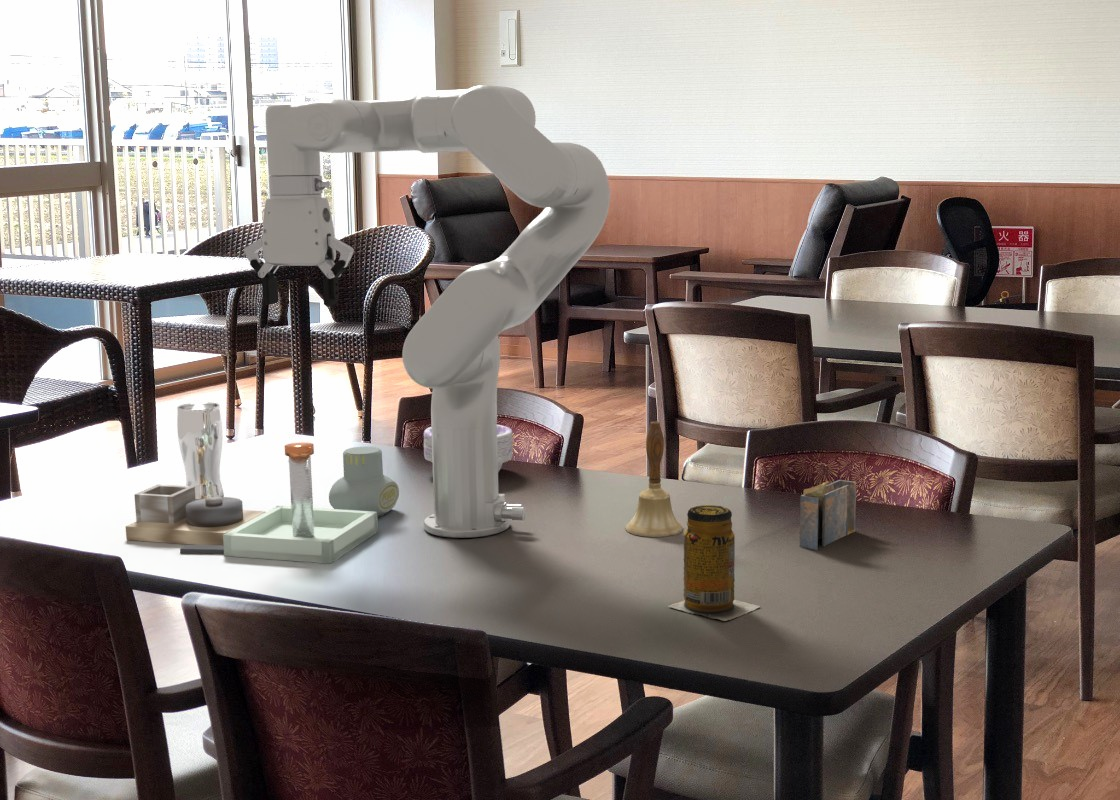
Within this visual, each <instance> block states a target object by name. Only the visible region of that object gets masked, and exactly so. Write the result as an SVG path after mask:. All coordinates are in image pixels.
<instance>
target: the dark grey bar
mask: <svg viewBox="0 0 1120 800" xmlns="http://www.w3.org/2000/svg"><path fill="white" fill-rule="evenodd" d="M179 552H180V554H205V555H206V554H211V555H213V554H214V555H215V554H219V555H222V554H223V555H224V545H193V544H184V545H183V546H182V547H181V548H179Z"/></svg>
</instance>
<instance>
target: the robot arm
mask: <svg viewBox="0 0 1120 800" xmlns="http://www.w3.org/2000/svg"><path fill="white" fill-rule="evenodd" d="M536 117H537V116H536V111H535V107H534V105H533V103H532V101H531V100H530V98H529V97H528V96H527V95H526V94H525V93H523V92H522V91H520V90H518V89H516V88H514V87H508V86H502V85H501V86H498V85H490V84H489V85H488V84H481V85H476V86H475V85H474V86H472V87H470V88H463V89H441V90H424V91H420V92H418V93H417V94H416V96H414V97H410V98H409V97H408V98H402V99H401V98H400V99H389V100H388V99H385V100H353V99H335V98H331V99H330V98H327V99H319V100H312V101H309V102H300V101H299V102H296V101H291V102H290V101H289V102H286V101H285V102H284V101H283V102H273V103H271V104H269V106H267V108H266V109H265V131H266V132H265V133H266V134H265V135H266V149H267V150H266V153H267V166H268V167H267V168H268V170H267V171H268V186H269V187H268V188H269V197H267V198H266V199H265V202H264V209H263V216H262V217H263V218H262V237H260V238H259V239H257V240H255V241H254V242H251V244H249V245H248V246H245V247H244V249H243V253H244V254H245V256H246V258H247V260H248V261H249V265H250V266H251V268H252V269H253V270H254V271H255V272H256V273H257V276H258V277H259V278H261V290H262V291H261V292H262V298H263V299H264V304H265V305H266V306H270V305H274V304H277V303H279V302H280V300H279V283H278V277H277V276H275V273H276V272H277V271H278V269H279V267H280V266H282V267H283V266H284V267H286V266H291V267H292V266H293V267H295V266H300V267H301V266H303V267H304V266H305V267H309V266H310V267H311V266H312V267H313V266H316V267H318V268H319V269H320V271H321V272H322V273H323V275H324V276H325V278H323V280H322V287H323V288H322V289H323V290H322V291H323V305H324V306H327V307H330V306H334V305H337V304H338V300H339V298H340V292H339V289H340V287H339V278H340V277H341V276H342V274H343V272H344V271H345V270H346V269H347V268H348V267H349V264H350V261H351V260H352V257H353V254H354V252H355V250H354V248H353V247H352V246H350V245H348V244H347V243H345V242H343V241H341V240H339V239H338V238H336V237H335V229H334V223H333V216H332V213H331V212H332V211H331V207H330V203H329V200H328V199H329V198H328V196H327V197H325V196H322V194H323V193H324V192H323V191H324V190H329V189H330V182H329V180H328V179H323V176H322V175H321V157H320V156H321V153H328V154H329V153H330V154H334V153H335V154H338V153H339V154H343V153H356V154H358V153H361V154H362V153H376V152H379V153H381V152H403V151H404V152H405V151H406V152H407V151H416V152H417V151H419V152H421V153H423V154H426V153H427V154H429V153H430V154H431V153H452V152H453V153H454V152H456V153H457V152H458V153H459V152H470V153H471V154H472V155H473V156H474V157H475V158H476V159H477V160H478V161H479V162H480V163H481V164H482V165H483V166H484V167H486V169H488V170H489V172H491V173H492V174H493V175H494V176H495V177H496V178H497V179H498V180H500V182H502V184H503V185H504V186H505V187H507V188H508V189H509V190H510V191H511V192H512V193H514V195H516V196H517V197H518V198H519V199H520V200H522V201H523V202H525V203H527V204H528V205H531V206H533V207H537V208H543V210H542V211H541V212H540V214H538V215H537V216H536V217H535V218H533V220H532V221H531V222H530V223H528V225H526V227H525V228H524V229H523V230H522V231H521V233H520V234H519V235H518V237H516V239H515V240H514V241H513V242H512V243H511V245H509V246H508V248H507V249H506V250H505V251H504V252H502V254H501V255H499V257H497V258H496V259H494V260H491V261H489V262H484V263H479V264H477V265H476V264H475V265H473V266H471V267H469V268H468V269H466V270H464V271H463V272H462V273H460V274H459V275H458V276H457V277H456V278H454V279H453V281H452V282H451V283H450V284H449V285H448V286H447V287H446V289H444V290H443V292H442V293H441V294H440V295H439V297H438V298H436V300H435V301H434V302H433V304H431V306H429V308H428V309H427V310H426V312H425V313H424V314H423V315H422V316H420V319H418V321H417V322H416V323H415V324H414V325H413V326H412V329H411V330H410V331H409V332H408V334H407V336H406V338H405V340H404V343H403V347H402V352H401V353H402V354H401V356H402V363H403V366H404V370H405V371H406V373H407V375H408V376H409V378H410V379H411V380H412V381H413V382H415V383H416V384H418V385H419V386H421V387H424V388H427V389H432V393H431V402H430V403H431V404H430V416H431V417H430V419H431V426H430V427H431V432H432V462H431V463H432V487H433V513H432V514H430V515H428V516H427V517H426V518H425V519H424V520H423V529H424V530H425V531H426V532H427V533H429V534H431V535H435V536H439V537H443V538H454V539H463V538H464V539H465V538H467V539H468V538H479V537H488V536H493V535H496V534H499V533H502V532H504V531H506V530H508V528H509V527H510V525H511V521H510V520H512V521H525V520H526V517H527V510H526V506H524V507H523V504H519V503H516V504H515V503H513V504H512V503H510V504H509V503H508V502H507V501H506V497H505V495H506V494H505V493H499V472H498V455H497V423H498V412H497V411H498V407H497V405H498V404H497V403H498V382H499V381H498V380H499V372H500V363H501V344H500V343H501V342H500V339H499V335H500V334H501V333H502V332H503V331H505V330H509V329H511V328H513V327H516V326H519V325H521V324H523V323H525V322H526V321H527V320H528V319H530V318H531V316H533V314H534V313H535V312H536V311H537V309H538V308H539V307H540V305H541V304H542V303H543V302H544V301H545V299H546V298H547V297H548V296H549V295H550V294H551V293H552V292H553V291H554V289H555V288H556V287H557V286H558V285H559V284H560V283H561V282H562V281H563V279H564V278H565V277H566V276H567V275H568V273H569V272H570V271H571V269H572V268H573V267H574V266H575V265H577V263H578V261H579V260H581V258H582V257H583V256H584V255H585V253H587V251H588V250H589V249H590V247H592V245H593V243H594V242H595V240H596V239H597V238H598V236H599V234H600V232H601V231H602V230H603V227H604V226H605V225H604V224H605V223H606V220H607V217H608V214H609V208H610V204H611V203H610V202H611V201H610V200H611V192H610V191H611V190H610V183H609V182H610V181H609V178H608V175H607V172H606V168H604V165H603V163H602V161H601V160H600V159H599V157H598V156H597V155H596V153H595V152H593V151H592V150H590V149H589V148H588V147H586V146H583V145H581V144H578V143H573V142H552V141H551V140H550V139H548V138H547V137H546V136H545V134H543V133H542V132H541V131H540V130H539V129H538V128H536V121H537V119H536ZM261 250H262V256H263V260H264V261H263V260H262V259H261V258H260V256H259V251H261ZM337 251H338V252H339V255H340V256H339V259H338V260H337V261H336V263H335V260H336V258H337Z"/></svg>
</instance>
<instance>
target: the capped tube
mask: <svg viewBox="0 0 1120 800" xmlns="http://www.w3.org/2000/svg"><path fill="white" fill-rule="evenodd" d="M314 449H315V446H314V443H312V442H303V441H302V442H292V443H288V444H285V445H284V455H285V456H286V457H288V468H289V489H290V490H289V491H290V505H291V510H292V530H293V537H302V538H313V537H314V518H313V508H314V504H313V500H314V499H313V479H312V477H313V476H312V461H311V460H312V458H311V456H312V455H314V454H315V450H314Z"/></svg>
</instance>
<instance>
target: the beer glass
mask: <svg viewBox="0 0 1120 800" xmlns="http://www.w3.org/2000/svg"><path fill="white" fill-rule="evenodd" d="M176 409H177V415H176V416H177V423H176V426H177V439H178V446H179V452H180V454H181V458H182V463H183V466H184V471H185V476H186V485H185V486H193V487H195V498H196V500H200V499H205V498H209V497H224V494H225V493H224V489H223V486H222V482H221V476H220V475H221V473H220V470H221V459H222V452H223V440H224V439H223V421H222V414H221V408H220V404H219V403H217V402H209V401H208V402H207V401H205V402H190V403H185V404H184V403H183V404H181V405H178V406H177V408H176Z"/></svg>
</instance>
